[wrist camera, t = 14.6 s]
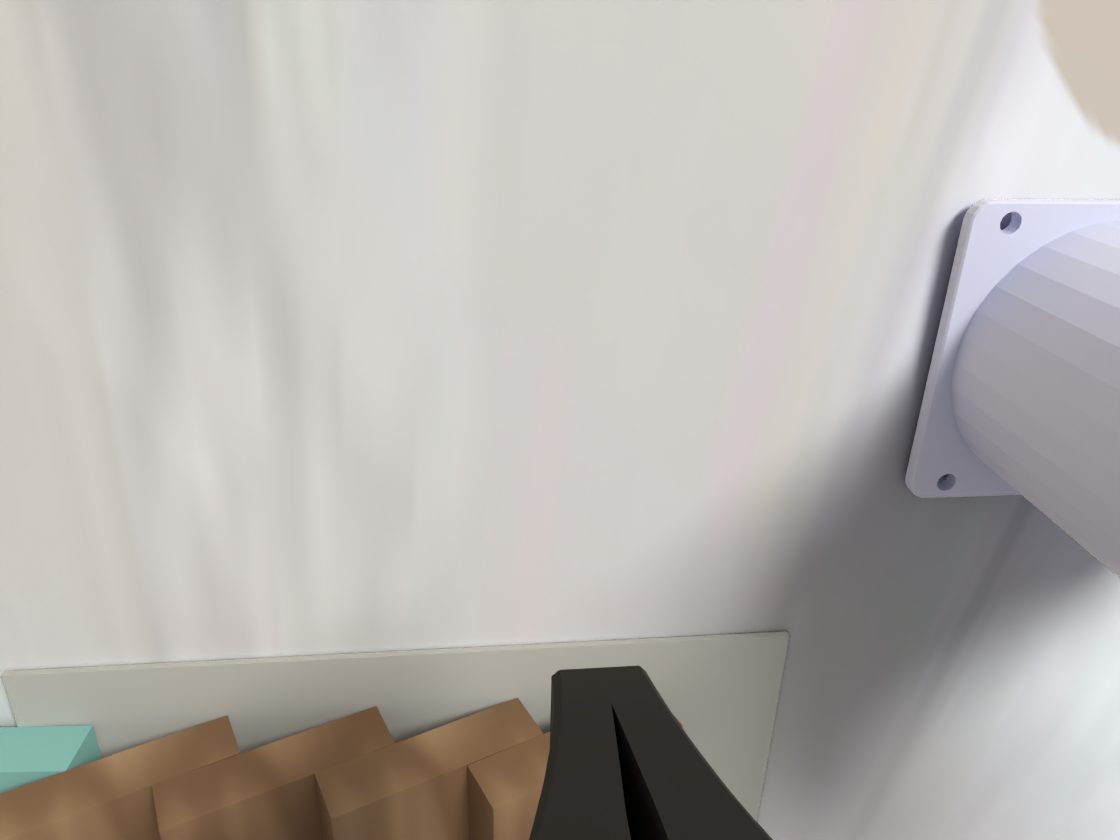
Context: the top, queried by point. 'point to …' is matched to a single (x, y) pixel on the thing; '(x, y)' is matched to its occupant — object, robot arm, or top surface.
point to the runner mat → (421, 693)
